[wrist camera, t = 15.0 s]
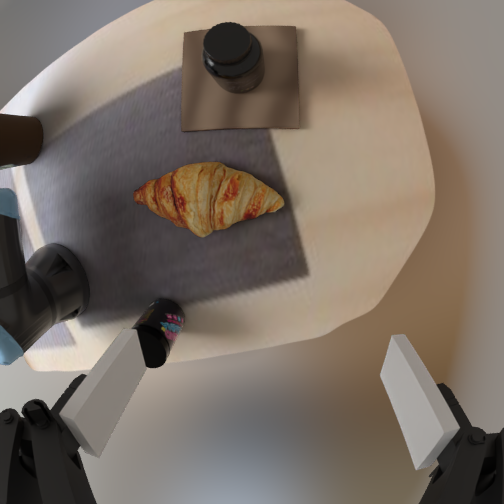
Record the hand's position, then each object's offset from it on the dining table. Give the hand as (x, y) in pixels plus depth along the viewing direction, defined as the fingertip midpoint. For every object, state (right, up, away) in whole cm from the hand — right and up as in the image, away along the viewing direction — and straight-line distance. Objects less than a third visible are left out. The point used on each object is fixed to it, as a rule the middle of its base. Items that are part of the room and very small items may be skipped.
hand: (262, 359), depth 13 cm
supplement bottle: (-2, +29, +20) cm, 36 cm away
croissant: (-7, +13, +27) cm, 31 cm away
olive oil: (-43, +26, +25) cm, 56 cm away
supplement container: (-15, -5, +33) cm, 37 cm away
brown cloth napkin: (-2, +30, +21) cm, 36 cm away
